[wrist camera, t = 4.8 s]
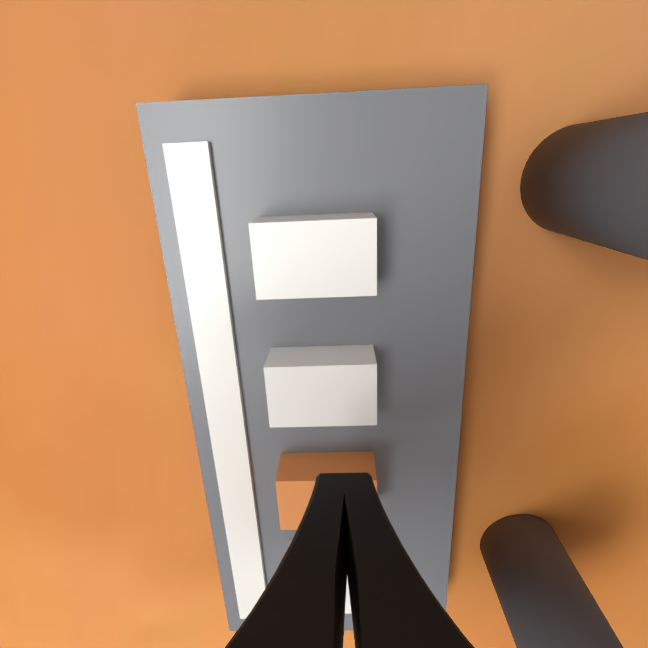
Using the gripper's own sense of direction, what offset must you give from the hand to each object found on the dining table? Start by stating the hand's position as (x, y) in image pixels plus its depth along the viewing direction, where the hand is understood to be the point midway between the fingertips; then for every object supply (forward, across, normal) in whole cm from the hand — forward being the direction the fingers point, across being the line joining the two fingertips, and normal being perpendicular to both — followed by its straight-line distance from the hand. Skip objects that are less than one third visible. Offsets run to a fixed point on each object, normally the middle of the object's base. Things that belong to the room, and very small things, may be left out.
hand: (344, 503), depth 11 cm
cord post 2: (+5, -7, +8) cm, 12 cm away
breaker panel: (+5, +1, 0) cm, 5 cm away
